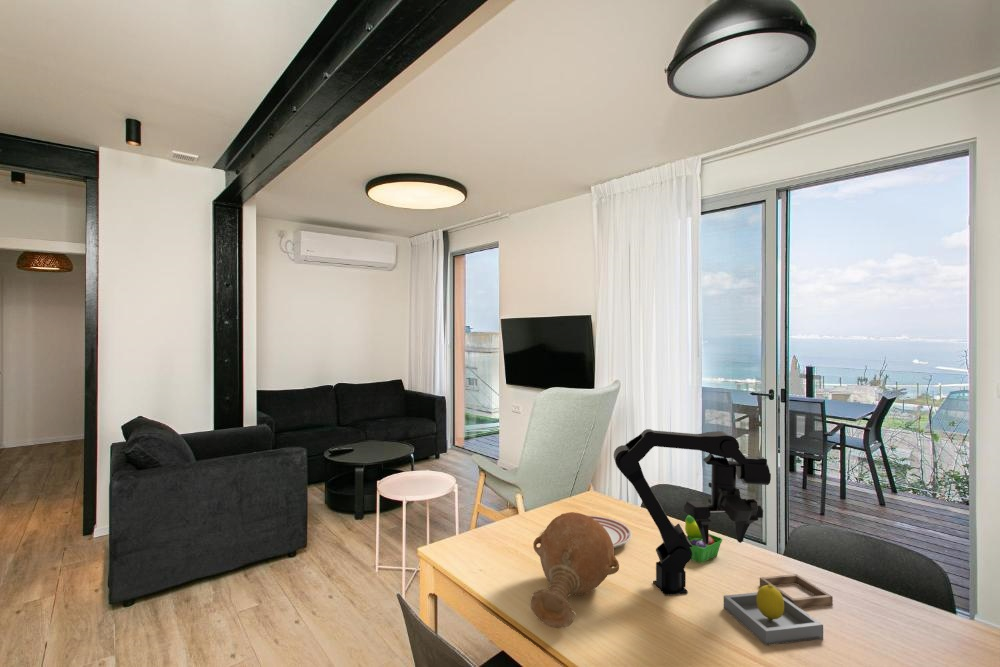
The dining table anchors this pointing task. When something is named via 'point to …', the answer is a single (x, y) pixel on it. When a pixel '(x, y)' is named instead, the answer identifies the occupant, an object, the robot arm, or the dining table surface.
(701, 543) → the fruit basket
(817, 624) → the tray
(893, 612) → the dining table surface
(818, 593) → the lemon holder
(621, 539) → the dinner plate
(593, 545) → the jug
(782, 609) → the lemon
